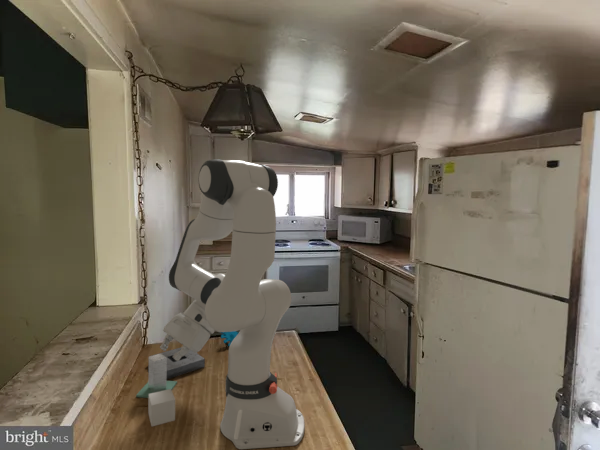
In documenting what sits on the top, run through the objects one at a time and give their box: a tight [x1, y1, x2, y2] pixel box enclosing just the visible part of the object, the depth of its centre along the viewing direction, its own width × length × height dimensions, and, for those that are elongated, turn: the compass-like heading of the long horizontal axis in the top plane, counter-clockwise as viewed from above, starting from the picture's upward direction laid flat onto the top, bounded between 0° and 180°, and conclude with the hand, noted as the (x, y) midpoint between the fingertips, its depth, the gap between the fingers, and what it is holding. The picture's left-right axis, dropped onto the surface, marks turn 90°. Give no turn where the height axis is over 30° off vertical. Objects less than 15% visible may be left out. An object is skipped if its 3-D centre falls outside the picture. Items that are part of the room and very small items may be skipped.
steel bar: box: [147, 352, 168, 393], centre depth 111 cm, size 4×4×10 cm
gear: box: [219, 330, 240, 347], centre depth 148 cm, size 11×6×10 cm
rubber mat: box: [135, 380, 178, 399], centre depth 111 cm, size 9×9×1 cm
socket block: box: [151, 346, 206, 380], centre depth 127 cm, size 14×14×3 cm
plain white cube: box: [147, 389, 176, 427], centre depth 98 cm, size 6×6×6 cm
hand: (168, 354), depth 112 cm, fingers open, 8 cm apart
